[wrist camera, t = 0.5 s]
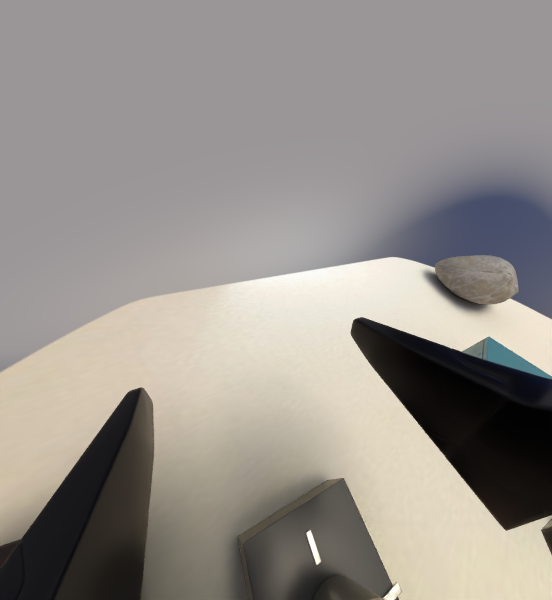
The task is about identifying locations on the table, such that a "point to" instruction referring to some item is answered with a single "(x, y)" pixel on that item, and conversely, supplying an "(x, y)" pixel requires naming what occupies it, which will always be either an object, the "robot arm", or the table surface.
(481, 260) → the decorative stone
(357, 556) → the thermostat
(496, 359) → the lid
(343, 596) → the dial
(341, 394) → the table surface
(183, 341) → the table surface
